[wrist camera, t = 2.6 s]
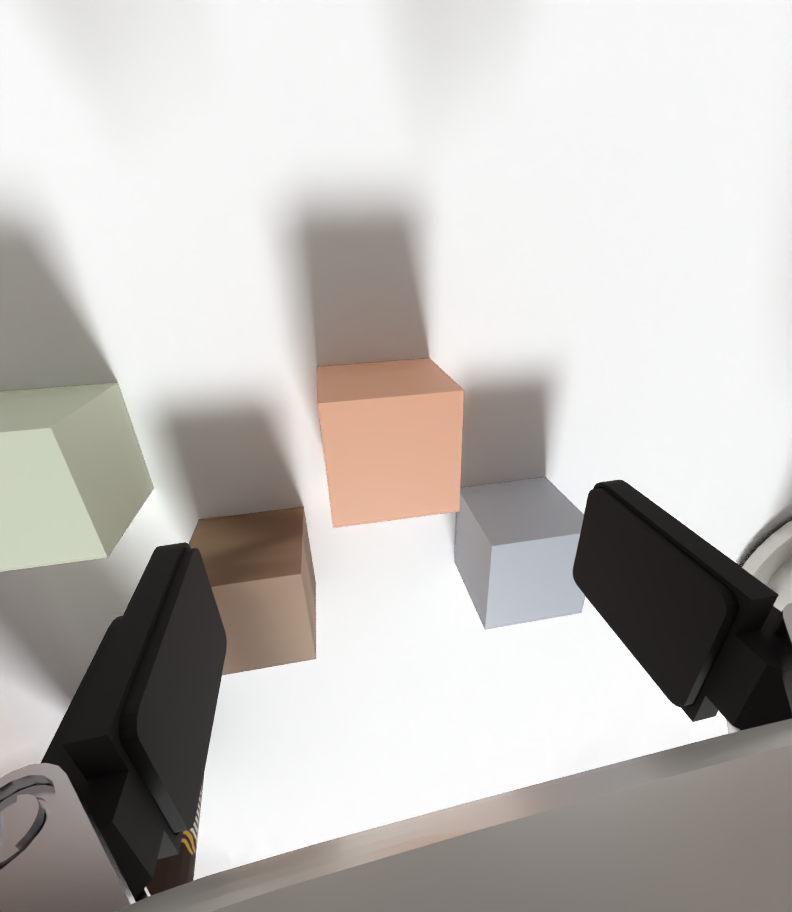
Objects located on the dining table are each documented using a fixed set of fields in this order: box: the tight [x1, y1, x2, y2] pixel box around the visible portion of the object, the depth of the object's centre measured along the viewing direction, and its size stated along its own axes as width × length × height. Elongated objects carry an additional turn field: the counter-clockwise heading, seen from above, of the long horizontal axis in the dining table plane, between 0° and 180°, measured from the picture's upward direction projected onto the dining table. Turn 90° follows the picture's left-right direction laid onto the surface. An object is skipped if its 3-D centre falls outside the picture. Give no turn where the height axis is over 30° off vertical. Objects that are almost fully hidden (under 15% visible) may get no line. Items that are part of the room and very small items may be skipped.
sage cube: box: [0, 382, 154, 572], centre depth 16 cm, size 5×5×5 cm
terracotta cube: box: [317, 358, 464, 528], centre depth 17 cm, size 5×5×5 cm
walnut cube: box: [189, 507, 316, 675], centre depth 20 cm, size 5×5×5 cm
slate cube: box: [455, 477, 585, 629], centre depth 21 cm, size 5×5×5 cm
